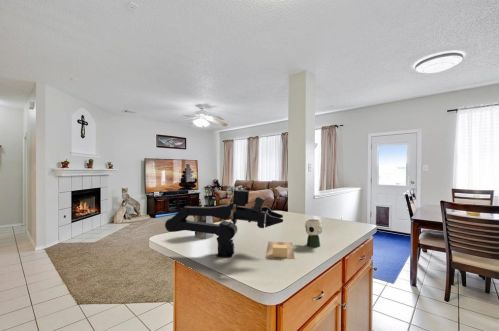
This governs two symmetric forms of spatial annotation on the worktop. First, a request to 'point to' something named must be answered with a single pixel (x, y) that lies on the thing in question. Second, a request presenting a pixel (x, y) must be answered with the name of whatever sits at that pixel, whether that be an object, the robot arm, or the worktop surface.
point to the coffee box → (205, 220)
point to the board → (289, 245)
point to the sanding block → (280, 251)
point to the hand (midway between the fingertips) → (282, 218)
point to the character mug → (313, 232)
